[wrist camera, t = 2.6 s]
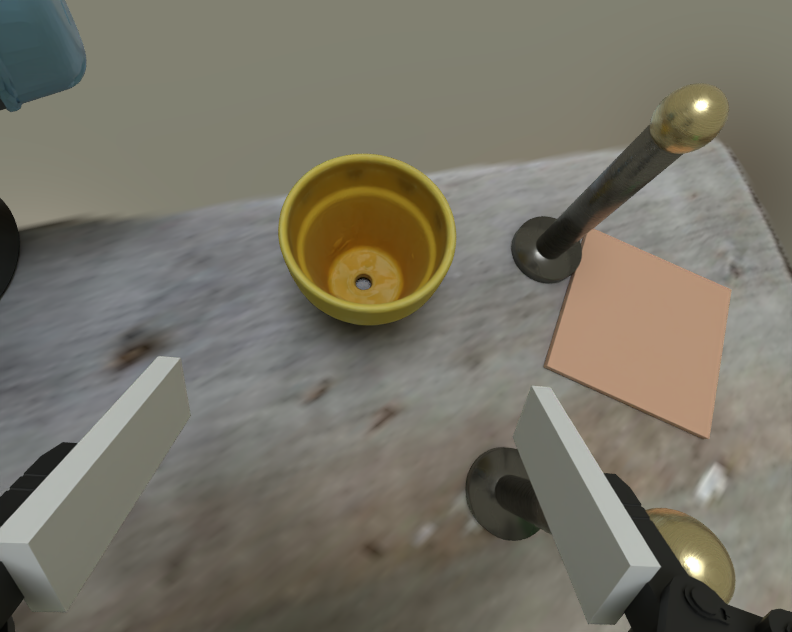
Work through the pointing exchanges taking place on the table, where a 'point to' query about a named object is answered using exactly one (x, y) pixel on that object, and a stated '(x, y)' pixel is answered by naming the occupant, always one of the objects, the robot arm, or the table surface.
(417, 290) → the plant pot
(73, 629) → the table surface
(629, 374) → the terracotta tile
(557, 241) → the iron post
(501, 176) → the table surface
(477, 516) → the iron post
